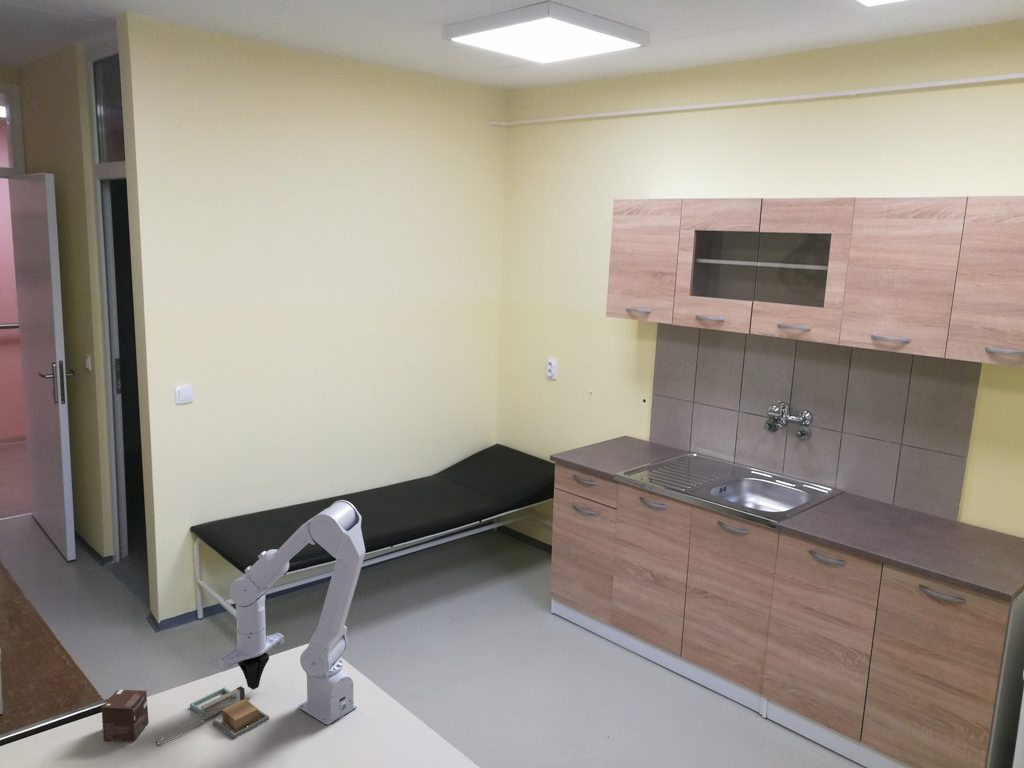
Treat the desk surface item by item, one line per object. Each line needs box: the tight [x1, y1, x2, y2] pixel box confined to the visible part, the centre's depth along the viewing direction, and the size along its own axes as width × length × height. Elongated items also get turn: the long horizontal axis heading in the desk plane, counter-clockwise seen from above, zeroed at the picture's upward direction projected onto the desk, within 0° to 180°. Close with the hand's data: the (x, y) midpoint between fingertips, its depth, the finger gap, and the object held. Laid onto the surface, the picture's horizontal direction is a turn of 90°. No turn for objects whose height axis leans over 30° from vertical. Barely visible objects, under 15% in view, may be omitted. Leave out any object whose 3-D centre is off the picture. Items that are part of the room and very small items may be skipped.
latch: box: [200, 685, 246, 720], centre depth 155 cm, size 1×9×2 cm, turn 143°
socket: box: [155, 709, 270, 746], centre depth 149 cm, size 11×18×1 cm, turn 143°
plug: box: [221, 698, 260, 733], centre depth 152 cm, size 5×5×3 cm
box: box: [101, 689, 149, 743], centre depth 147 cm, size 6×6×7 cm
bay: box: [189, 687, 232, 716], centre depth 158 cm, size 4×8×1 cm, turn 143°
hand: (253, 686), depth 161 cm, fingers closed
